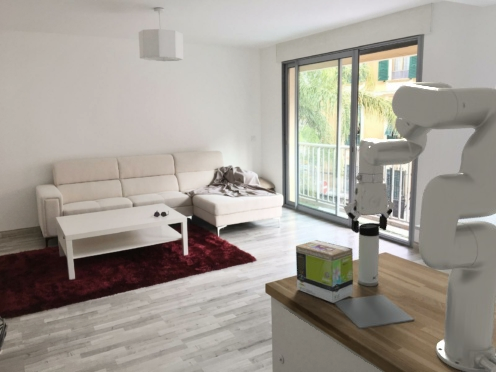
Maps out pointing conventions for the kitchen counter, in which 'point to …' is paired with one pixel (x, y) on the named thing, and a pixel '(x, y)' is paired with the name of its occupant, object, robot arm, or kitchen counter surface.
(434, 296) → the kitchen counter surface
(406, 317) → the mat
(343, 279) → the tea box
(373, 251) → the travel mug
